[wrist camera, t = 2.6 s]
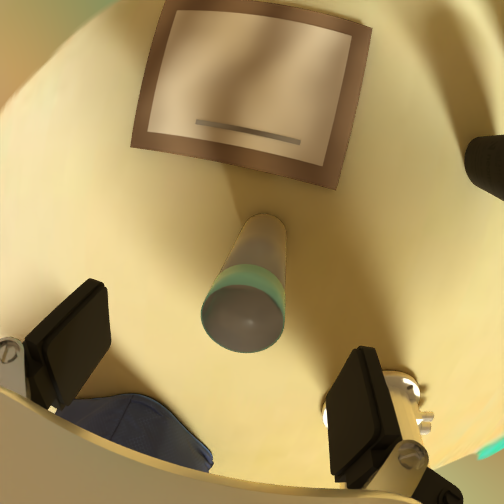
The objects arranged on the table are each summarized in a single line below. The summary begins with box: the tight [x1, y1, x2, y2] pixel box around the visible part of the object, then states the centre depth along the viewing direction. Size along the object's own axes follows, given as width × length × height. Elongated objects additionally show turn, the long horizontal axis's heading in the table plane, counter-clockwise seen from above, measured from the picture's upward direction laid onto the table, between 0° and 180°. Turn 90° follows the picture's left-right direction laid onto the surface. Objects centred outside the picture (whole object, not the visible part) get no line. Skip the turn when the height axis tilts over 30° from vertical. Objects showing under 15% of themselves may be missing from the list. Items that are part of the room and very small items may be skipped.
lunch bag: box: [55, 394, 214, 473], centre depth 31 cm, size 31×21×20 cm
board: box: [130, 0, 372, 190], centre depth 20 cm, size 17×14×2 cm
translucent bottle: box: [201, 214, 287, 353], centre depth 19 cm, size 4×4×13 cm
